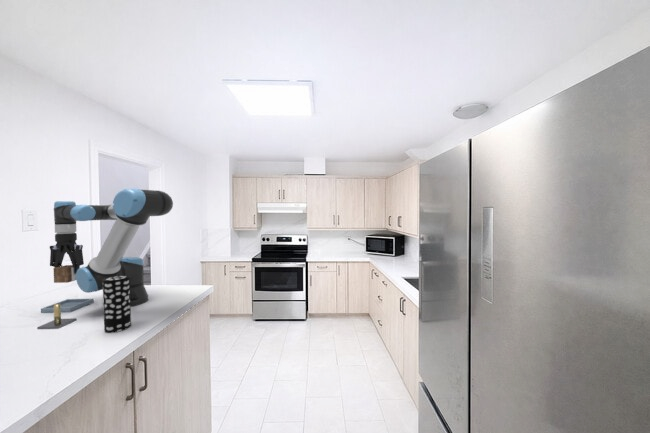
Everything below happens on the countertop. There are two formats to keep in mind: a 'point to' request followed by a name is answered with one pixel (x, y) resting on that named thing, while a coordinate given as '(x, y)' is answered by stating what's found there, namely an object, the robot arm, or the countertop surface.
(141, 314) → the countertop surface
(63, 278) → the walnut block
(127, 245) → the robot arm
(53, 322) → the brass post base plate
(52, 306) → the tray
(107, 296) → the white-spotted black cylinder
